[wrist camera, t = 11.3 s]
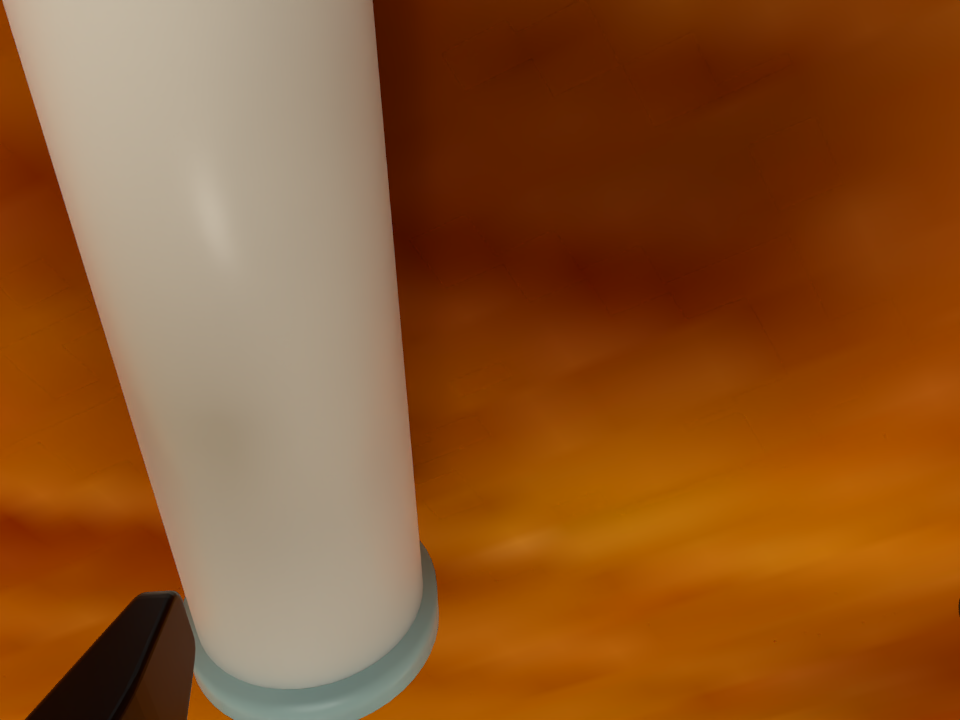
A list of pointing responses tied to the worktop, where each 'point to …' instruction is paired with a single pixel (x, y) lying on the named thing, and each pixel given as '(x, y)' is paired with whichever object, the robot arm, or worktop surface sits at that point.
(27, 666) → the worktop surface
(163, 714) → the robot arm
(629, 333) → the worktop surface
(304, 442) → the cylinder
